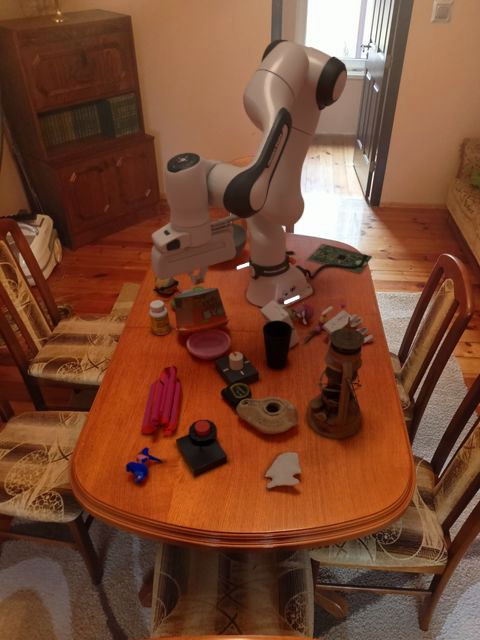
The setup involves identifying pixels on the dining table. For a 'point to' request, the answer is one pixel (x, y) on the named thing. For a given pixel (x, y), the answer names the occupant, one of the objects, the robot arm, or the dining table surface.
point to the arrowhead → (284, 470)
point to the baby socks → (357, 323)
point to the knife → (289, 252)
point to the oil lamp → (268, 414)
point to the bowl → (238, 239)
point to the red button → (202, 428)
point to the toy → (165, 285)
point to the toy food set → (184, 292)
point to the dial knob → (236, 360)
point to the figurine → (140, 465)
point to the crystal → (163, 402)
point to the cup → (277, 343)
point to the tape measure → (236, 393)
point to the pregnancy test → (336, 320)
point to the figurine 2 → (301, 315)
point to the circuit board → (339, 257)
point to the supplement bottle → (159, 317)
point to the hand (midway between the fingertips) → (198, 283)
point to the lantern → (338, 387)
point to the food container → (199, 311)
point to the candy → (325, 319)
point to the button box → (201, 450)
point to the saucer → (209, 344)
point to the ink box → (279, 318)
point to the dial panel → (237, 371)
